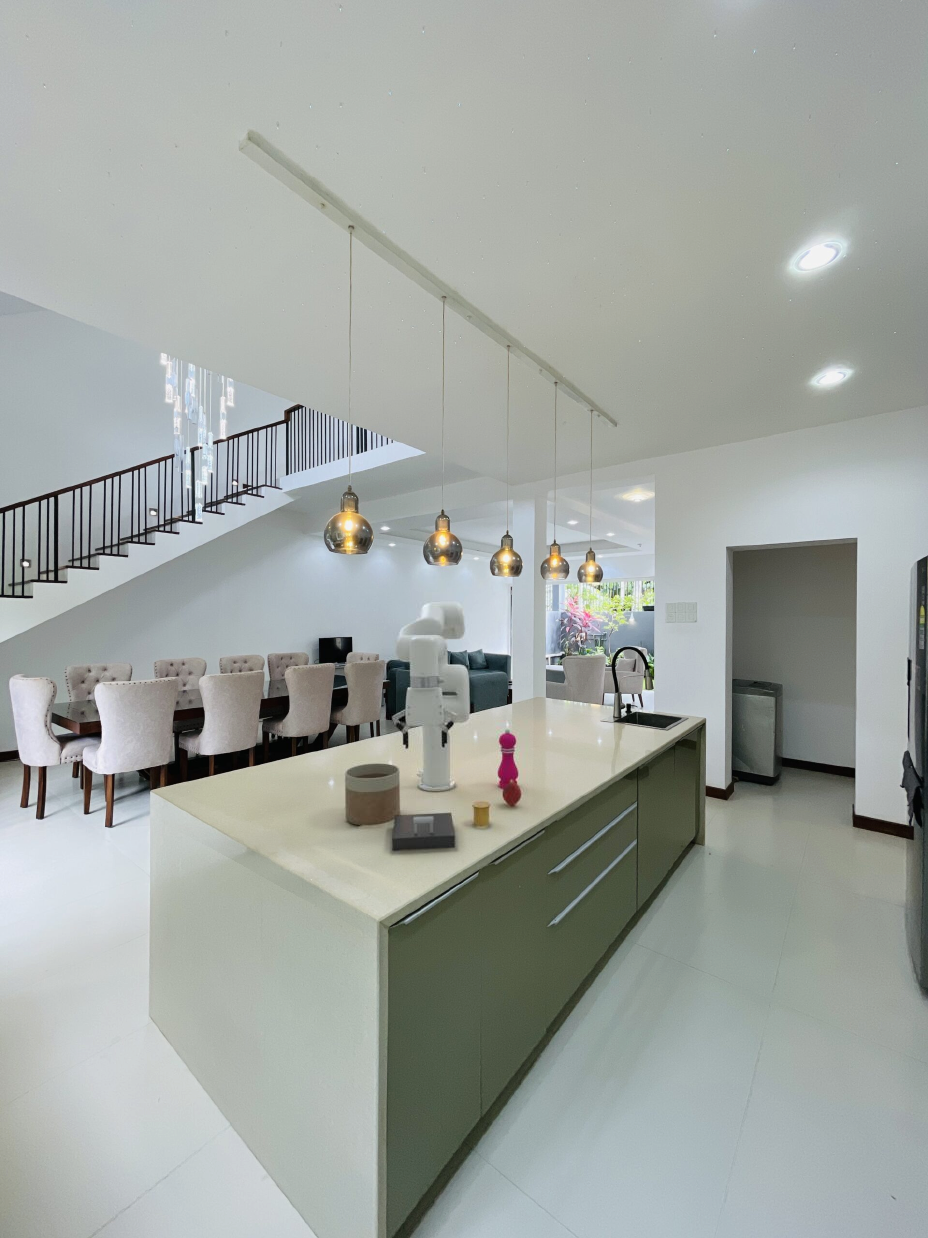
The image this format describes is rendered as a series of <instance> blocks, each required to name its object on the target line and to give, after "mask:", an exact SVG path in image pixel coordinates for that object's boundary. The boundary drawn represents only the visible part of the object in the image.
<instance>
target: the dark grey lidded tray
mask: <svg viewBox="0 0 928 1238" xmlns="http://www.w3.org/2000/svg"><path fill="white" fill-rule="evenodd" d="M391 843H392V845H391V848H392V851H407V850H410V851H411V850H428V849H449V848H456V838H455V839H435V840H414V841H394V842H392V841H391Z"/></svg>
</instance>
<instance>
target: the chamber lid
mask: <svg viewBox="0 0 928 1238" xmlns="http://www.w3.org/2000/svg"><path fill="white" fill-rule="evenodd" d="M455 833H456V832H455V827H454V822H453V815H452V812H441V813H440V812H437V813H436V812H435V813H433V812H432V813H415V814H414V813H413V814H399V815H395V819H394V820H393V829H392V836H391V843H392V842H394V841H414V840H435V839H455V840H456V835H455Z"/></svg>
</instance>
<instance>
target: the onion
mask: <svg viewBox="0 0 928 1238" xmlns="http://www.w3.org/2000/svg"><path fill="white" fill-rule="evenodd" d="M502 789H503V788H502ZM501 793H502V799H503V800H504V803H506V804H508V805H509V806H510V807H514V806H515V805H517V803H519V801H521V798H522V791H521V789H520V786H518V784H517V785H516V784H515V783H514V781H513V780H510V782H509V784H507V785H506V786H505V787H504V789H503V790H502V792H501Z"/></svg>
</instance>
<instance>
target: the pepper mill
mask: <svg viewBox="0 0 928 1238" xmlns="http://www.w3.org/2000/svg"><path fill="white" fill-rule="evenodd" d="M516 738H517V737H516V735H514V734H513V733H511V730H510V729H509V728H506V729H505V730H504V733H502V734H501V735H500V736H499V738H498V743H499V746H500V752H501V761H500V764H499V767H498V768H497V777H498V778H499V779H500V780H499V781H498V786H499V787H500V788H501V789H504V787H505V786H506V785H507V784H509V782H510V780H513V781H514V783H515V784H516V785H517V786H518V781H517V779H518V777H519V770H518V766H517V765H516V763H515V759H514V758H515V757H514V753H515V752H516V747H515V746H516V744H517V739H516Z"/></svg>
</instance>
